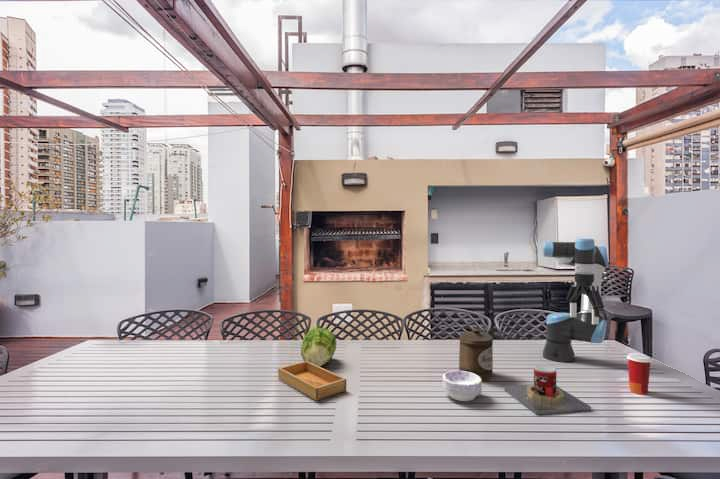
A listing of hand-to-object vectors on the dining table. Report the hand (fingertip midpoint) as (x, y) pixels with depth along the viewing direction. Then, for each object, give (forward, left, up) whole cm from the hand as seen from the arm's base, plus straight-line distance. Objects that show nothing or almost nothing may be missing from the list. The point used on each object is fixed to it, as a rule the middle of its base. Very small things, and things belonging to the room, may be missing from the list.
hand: (583, 320), depth 171 cm
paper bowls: (+9, -62, -27) cm, 68 cm away
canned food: (+17, -31, -25) cm, 43 cm away
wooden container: (-12, -46, -27) cm, 54 cm away
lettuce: (-38, -117, -27) cm, 125 cm away
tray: (-12, -121, -27) cm, 125 cm away
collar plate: (+17, -31, -26) cm, 44 cm away
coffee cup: (+16, +12, -27) cm, 33 cm away
